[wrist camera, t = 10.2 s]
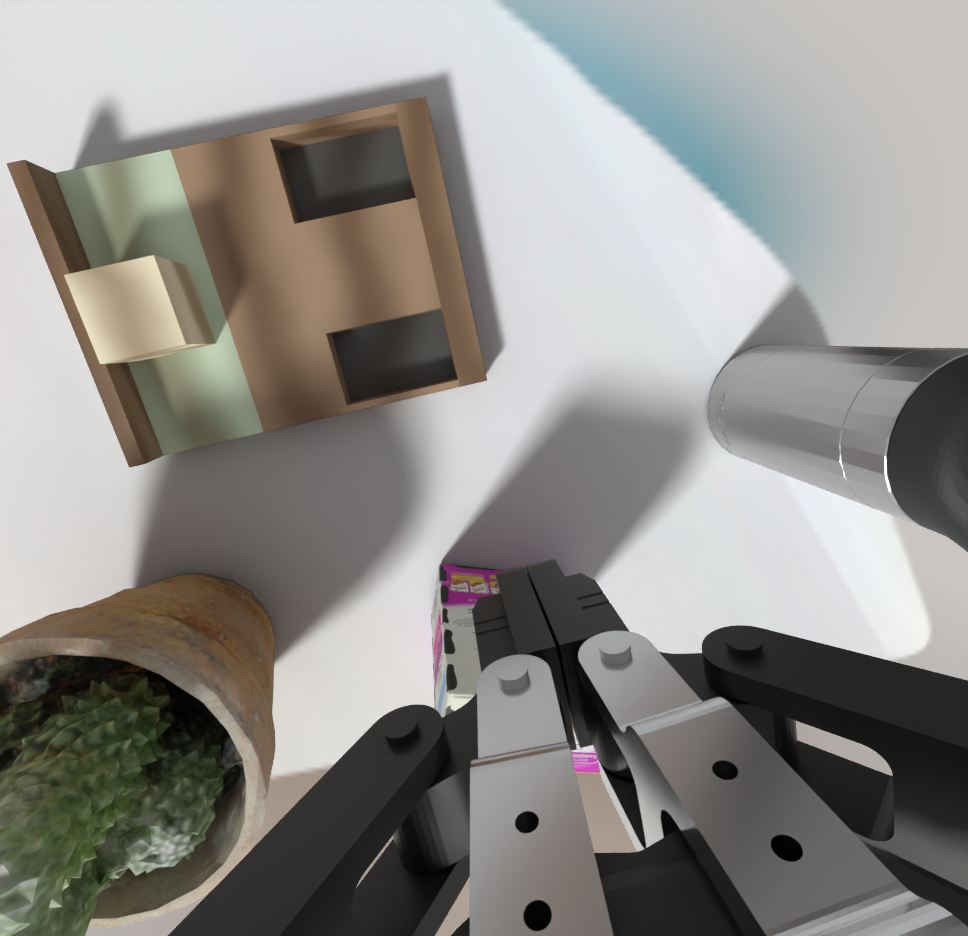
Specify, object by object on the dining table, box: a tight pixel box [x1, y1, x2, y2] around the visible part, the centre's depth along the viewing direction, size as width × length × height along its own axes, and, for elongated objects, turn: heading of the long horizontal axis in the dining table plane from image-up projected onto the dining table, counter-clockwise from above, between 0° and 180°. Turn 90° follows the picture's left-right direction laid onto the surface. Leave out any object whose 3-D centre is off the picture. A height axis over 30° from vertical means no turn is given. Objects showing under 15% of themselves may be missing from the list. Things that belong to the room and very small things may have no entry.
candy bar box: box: [432, 564, 601, 774], centre depth 37 cm, size 11×5×16 cm, turn 81°
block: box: [64, 255, 215, 364], centre depth 33 cm, size 5×5×4 cm
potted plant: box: [0, 574, 275, 936], centre depth 31 cm, size 18×19×25 cm
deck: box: [7, 97, 487, 467], centre depth 35 cm, size 24×18×5 cm
